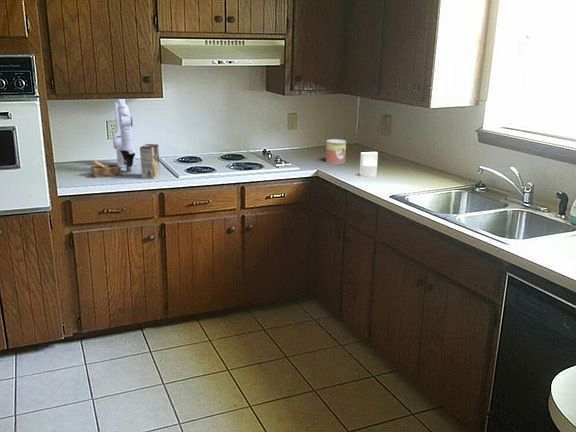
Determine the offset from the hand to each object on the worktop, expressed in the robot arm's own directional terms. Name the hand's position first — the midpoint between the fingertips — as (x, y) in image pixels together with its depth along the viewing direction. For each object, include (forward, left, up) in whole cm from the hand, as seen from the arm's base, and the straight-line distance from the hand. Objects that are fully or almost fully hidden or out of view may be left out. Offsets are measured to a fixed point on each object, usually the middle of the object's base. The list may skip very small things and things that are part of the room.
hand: (128, 164), depth 312 cm
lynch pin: (0, 0, -3) cm, 3 cm away
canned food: (-113, +24, -4) cm, 116 cm away
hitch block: (+12, +1, -4) cm, 13 cm away
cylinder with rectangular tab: (-111, +59, -4) cm, 126 cm away
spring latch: (+15, +1, +2) cm, 16 cm away
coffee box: (-7, +15, -4) cm, 17 cm away
